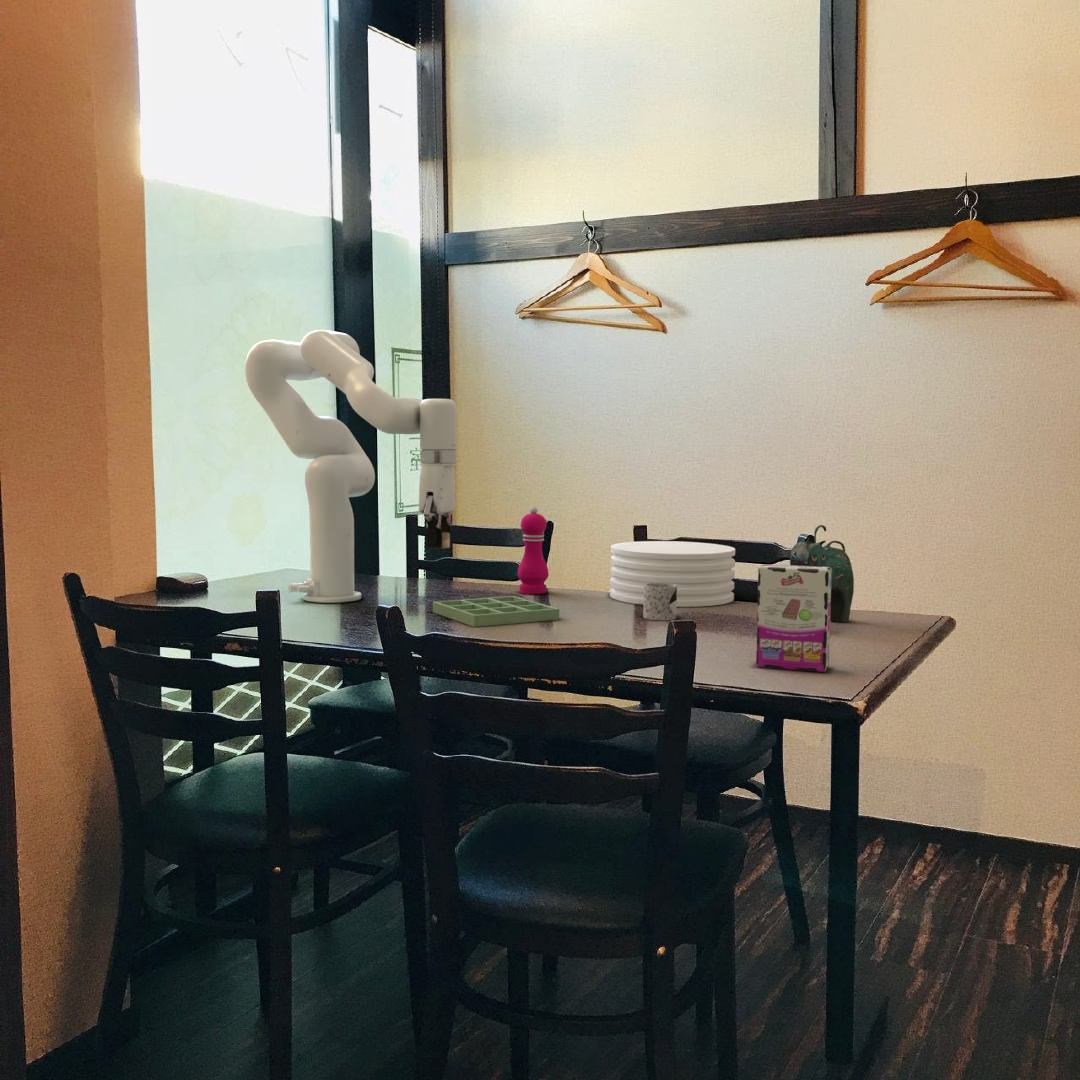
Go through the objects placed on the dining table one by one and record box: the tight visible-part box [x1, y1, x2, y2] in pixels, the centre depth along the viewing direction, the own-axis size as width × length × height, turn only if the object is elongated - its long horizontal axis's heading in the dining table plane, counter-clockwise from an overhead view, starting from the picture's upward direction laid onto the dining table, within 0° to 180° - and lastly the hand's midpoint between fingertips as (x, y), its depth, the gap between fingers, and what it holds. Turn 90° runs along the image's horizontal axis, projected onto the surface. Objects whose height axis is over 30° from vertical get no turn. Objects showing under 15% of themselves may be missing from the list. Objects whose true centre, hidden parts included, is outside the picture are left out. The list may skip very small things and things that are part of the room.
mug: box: [642, 583, 677, 621], centre depth 227 cm, size 10×7×7 cm, turn 177°
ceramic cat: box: [789, 524, 855, 623], centre depth 218 cm, size 20×6×20 cm, turn 137°
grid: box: [432, 595, 560, 628], centre depth 226 cm, size 19×19×2 cm
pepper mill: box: [517, 506, 550, 595], centre depth 258 cm, size 7×7×20 cm
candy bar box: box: [755, 564, 832, 673], centre depth 179 cm, size 11×5×16 cm, turn 69°
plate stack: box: [609, 540, 736, 608], centre depth 253 cm, size 28×28×12 cm
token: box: [441, 532, 451, 549], centre depth 232 cm, size 4×4×3 cm
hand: (439, 545), depth 232 cm, fingers closed on token, 4 cm apart
